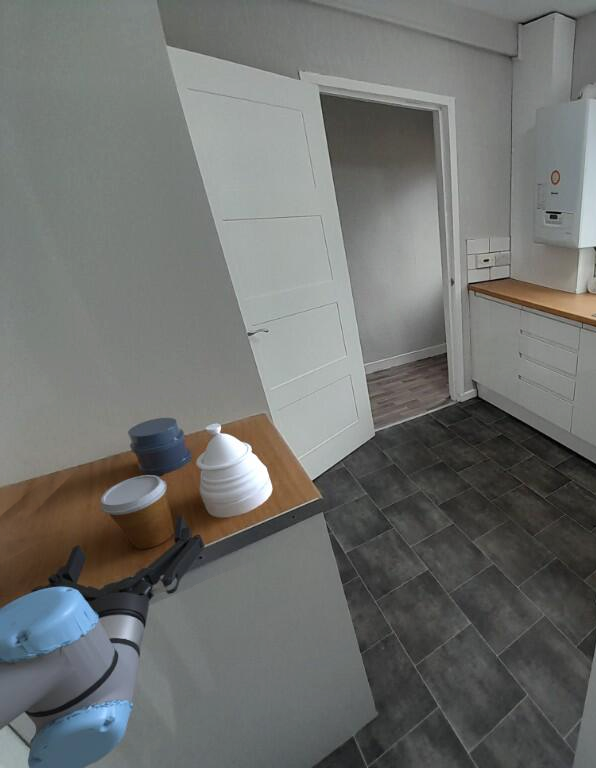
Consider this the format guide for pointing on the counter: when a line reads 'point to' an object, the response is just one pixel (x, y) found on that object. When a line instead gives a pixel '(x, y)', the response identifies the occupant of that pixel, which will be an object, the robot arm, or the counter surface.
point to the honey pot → (231, 476)
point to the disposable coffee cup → (140, 510)
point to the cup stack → (159, 446)
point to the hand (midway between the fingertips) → (133, 535)
